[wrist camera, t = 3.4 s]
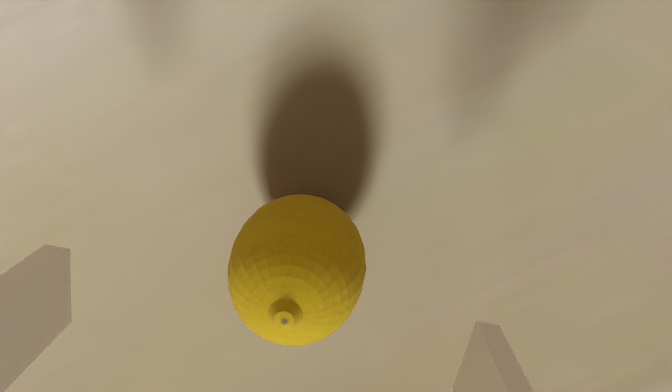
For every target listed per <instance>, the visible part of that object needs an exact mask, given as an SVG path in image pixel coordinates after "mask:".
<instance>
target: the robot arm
mask: <svg viewBox="0 0 672 392" xmlns="http://www.w3.org/2000/svg"><path fill="white" fill-rule="evenodd" d="M71 322H72V319H71V274H70V249H68V248H62V247H56V246H51V245H44V246H43V247H41V248H40V249H38V250H37V251H35V252H34V253H32V254H31V255H29V256H28V257H26V258H25V259H24V260H22V261H21V262H19V263H18V264H16V265H15V266H13V267H12V268H10V269H9V270H8V271H6V272H5V273H3V274H2V275H0V392H3V391H4V390H5V389H6V388H7V387H8V386H9V385H10V384H11V383H12V382H13V381H14V380H15V379H16V378H17V377H18V376H19V375H20V374H21V373H22V372H23V371H24V370H25V369H26V368H27V367H28V366H29V365H30V364H31V363H32V362H33V361H34V360H35V359H36V358H37V357H38V355H39V354H40V353H41V352H42V351H43V350H44V349H45V348H46V347H47V346H48V345H49V344H50V343H51V342H52V341H53V340H54V339H55V338H56V337H57V336H58V335H59V334H60V333H61V332H62V331H63V330H64V329H65V328H66V327H67V326H68V325H69V324H70V323H71ZM453 389H454V392H533V390H532V388H531V386H530V384H529V382H528V380H527V378H526V376H525V374H524V372H523V370H522V368H521V366H520V365H519V363H518V361H517V359H516V357H515V355H514V353H513V351H512V349H511V347H510V345H509V343H508V341H507V339H506V337H505V335H504V334H503V332H502V330H501V328H500V326H499V325H494V324H489V323H483V322H477V321H476V324H475V327H474V330H473V332H472V335H471V338H470V341H469V344H468V347H467V349H466V352H465V355H464V358H463V361H462V364H461V366H460V369H459V372H458V375H457V378H456V381H455V383H454V386H453Z"/></svg>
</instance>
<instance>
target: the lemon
mask: <svg viewBox="0 0 672 392" xmlns="http://www.w3.org/2000/svg"><path fill="white" fill-rule="evenodd" d="M365 271H366V265H365V252H364V246H363V243H362V240H361V237H360V234H359V232H358V229H357V227H356V226H355V225H354V223H353V222H352V220H351V219H350V218H349V216H348V215H347V214H346V213H345V212H344V211H343V210H341V209H340V208H339V207H338V206H337V205H336V204H334V203H332V202H330V201H328V200H326V199H324V198H322V197H317V196H313V195H308V194H292V195H288V196H284V197H280V198H277V199H275V200H273V201H271V202H269V203H267V204H266V205H264V206H262V207H261V208H259V209H258V210H257V211H256V212H255V213H254V214H253V215H252V216H251V217H250V218H249V219H248V220H247V221H246V223H245V224H244V225H243V227H242V229H241V231H240V232H239V234H238V236H237V238H236V239H235V242H234V244H233V248H232V252H231V256H230V260H229V265H228V281H229V293H230V296H231V299H232V302H233V305H234V308H235V310H236V311H237V313H238V314H239V316H240V317H241V319H242V321H243V322H244V323H245V324H246V325H247V326H248V327H249V328H250V329H251V330H252V331H253V332H254V333H256V334H258V335H259V336H261V337H263V338H264V339H266V340H269V341H272V342H275V343H278V344H285V345H304V344H309V343H312V342H315V341H318V340H321V339H323V338H325V337H326V336H328V335H329V334H331V333H333V332H334V331H336V329H337V328H338V327H339V326H340V325H341V324H342V323H343V322H344V321H345V320H346V319H347V318H348V317H349V315H350V314H351V312H352V310H353V308H354V306H355V304H356V303H357V301H358V299H359V297H360V294H361V291H362V286H363V281H364V277H365Z"/></svg>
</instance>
